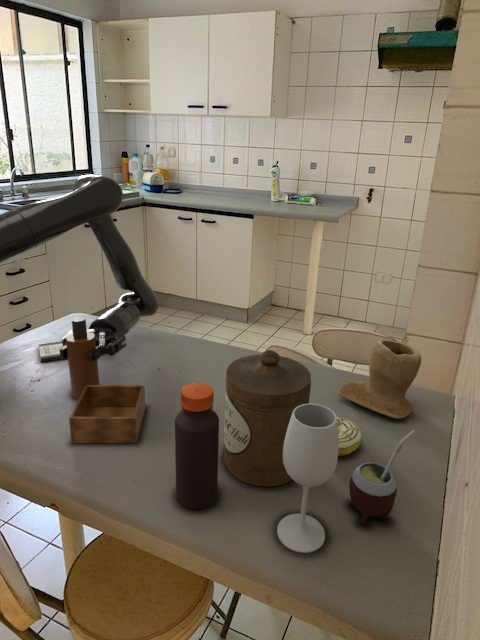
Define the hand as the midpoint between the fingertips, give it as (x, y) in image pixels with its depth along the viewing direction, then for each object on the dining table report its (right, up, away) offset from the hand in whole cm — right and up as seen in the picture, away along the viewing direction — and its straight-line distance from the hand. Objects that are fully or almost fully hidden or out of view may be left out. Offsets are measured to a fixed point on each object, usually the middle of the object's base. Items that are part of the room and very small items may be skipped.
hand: (76, 356), depth 98 cm
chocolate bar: (-9, 0, +26) cm, 27 cm away
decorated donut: (+53, -17, -7) cm, 56 cm away
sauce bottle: (0, -9, +6) cm, 11 cm away
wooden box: (+9, -13, -5) cm, 17 cm away
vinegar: (+28, -21, -22) cm, 41 cm away
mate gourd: (+56, -23, -24) cm, 65 cm away
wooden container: (+39, -18, -13) cm, 45 cm away
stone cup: (+66, -11, +7) cm, 67 cm away
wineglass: (+44, -25, -28) cm, 58 cm away
